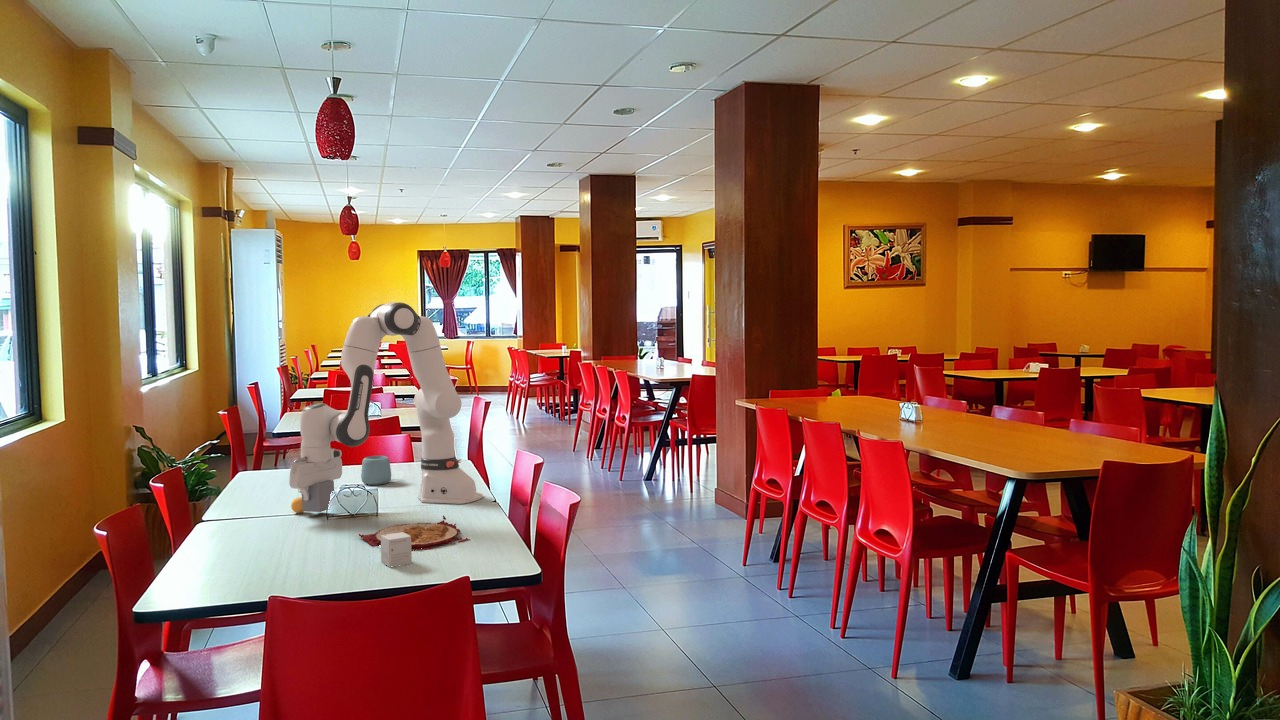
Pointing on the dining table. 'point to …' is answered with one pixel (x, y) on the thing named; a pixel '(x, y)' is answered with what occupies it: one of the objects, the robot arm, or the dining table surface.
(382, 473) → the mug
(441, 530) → the plate with food
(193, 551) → the dining table surface
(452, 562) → the dining table surface
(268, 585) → the dining table surface
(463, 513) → the dining table surface
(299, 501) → the ball
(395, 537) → the product box
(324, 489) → the gray block
